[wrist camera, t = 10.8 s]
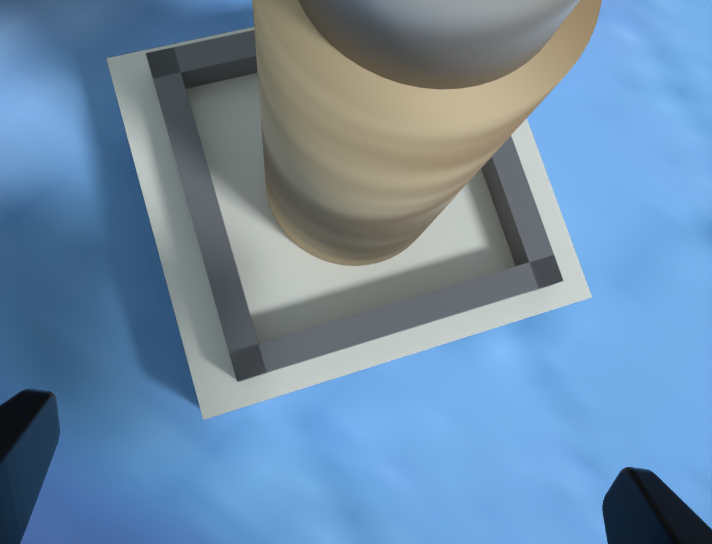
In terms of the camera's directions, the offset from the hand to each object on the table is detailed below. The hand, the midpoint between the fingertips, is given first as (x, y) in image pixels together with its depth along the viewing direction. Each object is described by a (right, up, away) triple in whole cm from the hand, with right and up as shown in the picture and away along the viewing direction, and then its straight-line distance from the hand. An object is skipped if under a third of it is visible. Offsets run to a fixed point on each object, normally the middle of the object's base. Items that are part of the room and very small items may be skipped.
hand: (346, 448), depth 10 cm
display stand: (0, +5, +11) cm, 12 cm away
